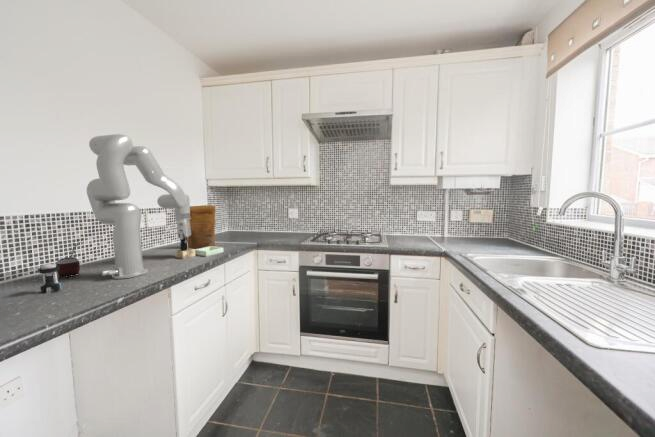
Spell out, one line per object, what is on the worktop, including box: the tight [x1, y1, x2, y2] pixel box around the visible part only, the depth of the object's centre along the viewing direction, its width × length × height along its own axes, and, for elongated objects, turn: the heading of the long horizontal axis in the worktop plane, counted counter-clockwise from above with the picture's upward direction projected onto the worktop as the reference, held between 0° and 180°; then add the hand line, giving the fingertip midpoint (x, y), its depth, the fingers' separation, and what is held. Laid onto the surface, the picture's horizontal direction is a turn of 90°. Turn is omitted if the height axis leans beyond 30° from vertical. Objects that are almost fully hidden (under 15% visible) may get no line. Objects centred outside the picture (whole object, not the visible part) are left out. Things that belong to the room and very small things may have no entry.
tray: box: [195, 246, 225, 258], centre depth 151 cm, size 12×12×3 cm
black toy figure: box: [35, 263, 62, 294], centre depth 93 cm, size 7×5×10 cm
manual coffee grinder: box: [56, 241, 82, 279], centre depth 111 cm, size 8×8×15 cm
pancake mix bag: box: [188, 205, 217, 249], centre depth 166 cm, size 7×19×28 cm, turn 109°
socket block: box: [175, 248, 196, 260], centre depth 143 cm, size 7×7×4 cm
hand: (185, 248), depth 143 cm, fingers closed on steel pin, 3 cm apart
